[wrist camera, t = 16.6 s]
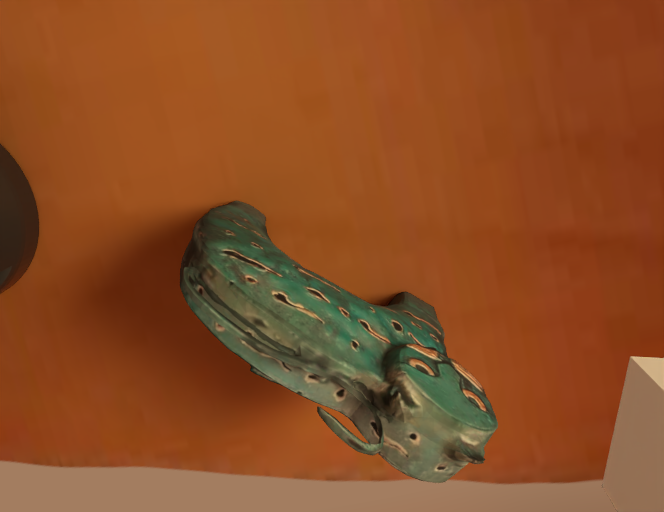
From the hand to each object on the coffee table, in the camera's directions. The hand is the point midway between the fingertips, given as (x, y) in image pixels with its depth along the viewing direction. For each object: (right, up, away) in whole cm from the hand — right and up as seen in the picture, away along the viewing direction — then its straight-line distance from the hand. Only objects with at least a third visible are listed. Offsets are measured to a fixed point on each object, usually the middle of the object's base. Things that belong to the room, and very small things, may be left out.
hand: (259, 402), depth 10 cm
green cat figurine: (+1, +1, +33) cm, 33 cm away
